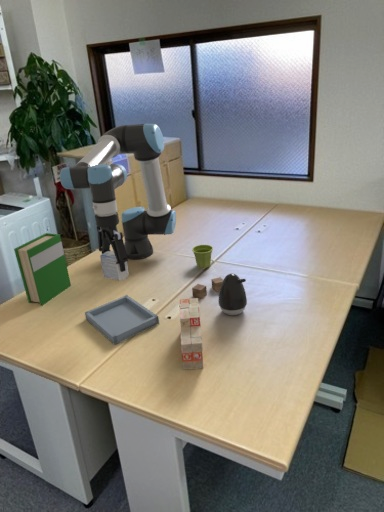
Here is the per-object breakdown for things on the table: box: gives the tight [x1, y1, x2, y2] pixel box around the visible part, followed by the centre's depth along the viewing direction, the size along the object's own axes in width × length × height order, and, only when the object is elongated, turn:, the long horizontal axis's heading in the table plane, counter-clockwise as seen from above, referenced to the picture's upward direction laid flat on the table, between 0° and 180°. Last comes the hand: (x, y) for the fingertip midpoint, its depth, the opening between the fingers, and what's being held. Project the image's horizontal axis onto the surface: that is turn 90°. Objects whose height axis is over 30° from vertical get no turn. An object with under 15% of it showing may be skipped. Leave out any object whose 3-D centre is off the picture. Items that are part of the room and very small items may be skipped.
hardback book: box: [13, 232, 72, 307], centre depth 166 cm, size 18×7×24 cm, turn 156°
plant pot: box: [191, 244, 214, 269], centre depth 183 cm, size 9×9×9 cm
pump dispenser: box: [218, 273, 248, 316], centre depth 144 cm, size 10×10×15 cm
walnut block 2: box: [210, 276, 224, 292], centre depth 163 cm, size 4×4×4 cm
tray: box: [84, 294, 160, 345], centre depth 146 cm, size 22×18×3 cm
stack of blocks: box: [179, 297, 204, 371], centre depth 127 cm, size 21×6×12 cm, turn 1°
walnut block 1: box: [191, 283, 208, 300], centre depth 159 cm, size 4×4×4 cm
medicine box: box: [99, 250, 130, 281], centre depth 139 cm, size 8×4×9 cm, turn 65°
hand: (116, 274), depth 140 cm, fingers closed on medicine box, 9 cm apart
